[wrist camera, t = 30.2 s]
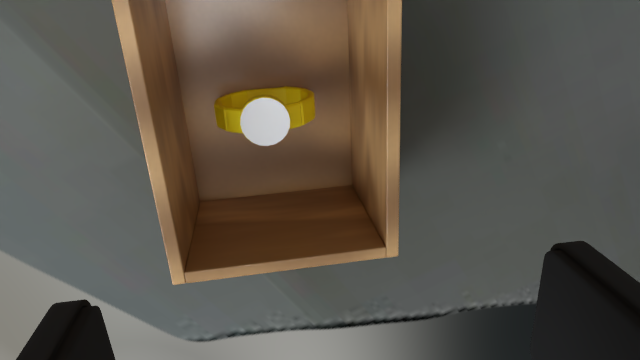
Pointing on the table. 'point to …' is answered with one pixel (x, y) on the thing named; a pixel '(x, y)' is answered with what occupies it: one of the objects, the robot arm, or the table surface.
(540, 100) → the table surface
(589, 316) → the robot arm
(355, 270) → the table surface
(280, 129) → the watch
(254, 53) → the chest
